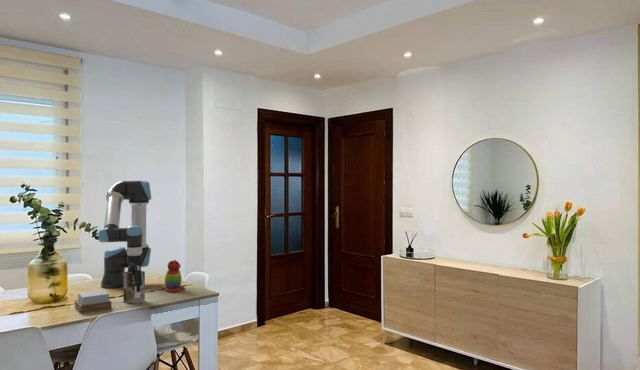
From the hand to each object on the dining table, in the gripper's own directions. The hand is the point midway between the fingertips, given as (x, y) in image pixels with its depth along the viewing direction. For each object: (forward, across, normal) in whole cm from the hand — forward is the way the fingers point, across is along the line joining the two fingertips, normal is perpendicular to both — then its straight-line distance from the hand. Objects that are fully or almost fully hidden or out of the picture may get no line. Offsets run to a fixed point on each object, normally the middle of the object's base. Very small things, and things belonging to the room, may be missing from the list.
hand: (134, 295), depth 239 cm
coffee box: (+3, 0, 0) cm, 3 cm away
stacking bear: (+3, -11, +26) cm, 28 cm away
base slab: (+4, -1, -20) cm, 20 cm away
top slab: (0, -1, -20) cm, 20 cm away
